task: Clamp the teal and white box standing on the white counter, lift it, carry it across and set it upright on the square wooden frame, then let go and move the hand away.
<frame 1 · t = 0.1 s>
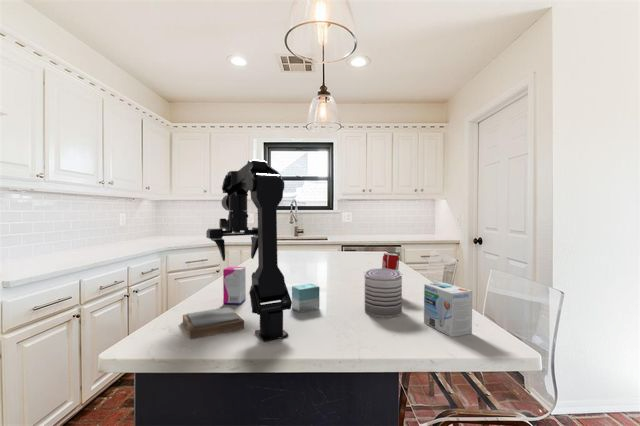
hand: (238, 259, 103), 15 cm above the counter, fingers open, 9 cm apart
supplement box: (234, 302, 106), on the counter
square wooden frame: (212, 325, 85), on the counter
beverage can: (389, 296, 114), on the counter
light bulb box: (447, 329, 83), on the counter
can: (382, 311, 97), on the counter
teal and white box: (305, 308, 99), on the counter
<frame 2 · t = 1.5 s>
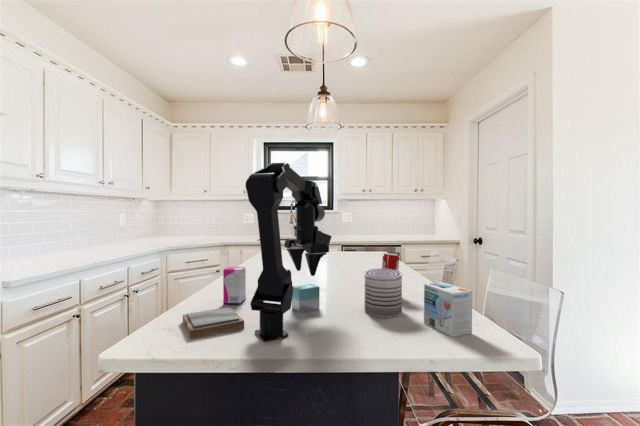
hand: (305, 273, 99), 11 cm above the counter, fingers open, 9 cm apart
nothing on the counter moved.
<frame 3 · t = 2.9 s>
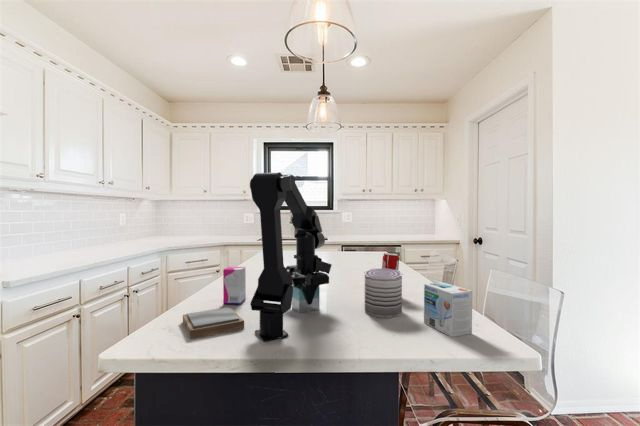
hand: (305, 302, 99), 2 cm above the counter, fingers closed on teal and white box, 5 cm apart
teal and white box: (305, 308, 99), on the counter, touching gripper
everything else where it was.
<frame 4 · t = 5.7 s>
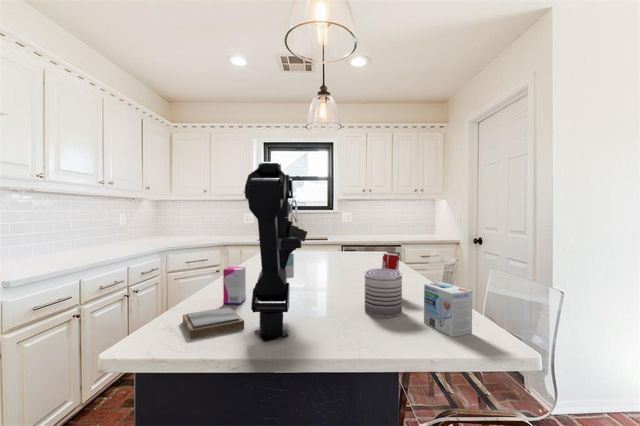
hand: (279, 270, 94), 13 cm above the counter, fingers closed on teal and white box, 5 cm apart
teal and white box: (279, 277, 94), point 11 cm above the counter, touching gripper
everything else where it was.
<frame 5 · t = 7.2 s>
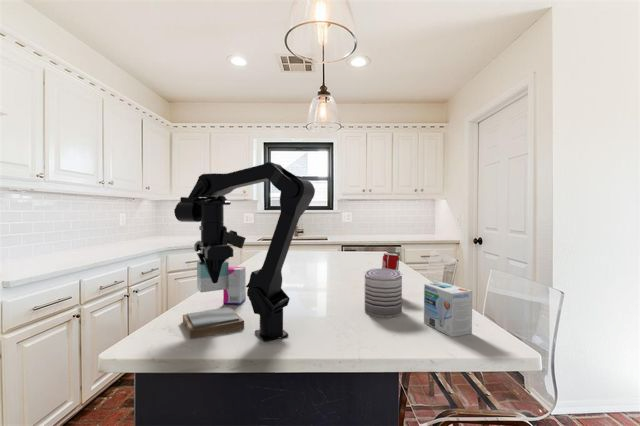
hand: (212, 281, 85), 12 cm above the counter, fingers closed on teal and white box, 5 cm apart
teal and white box: (212, 288, 85), point 10 cm above the counter, touching gripper
everything else where it was.
when the fingers open (6 cm above the counter, at t = 8.5 s): teal and white box drops 1 cm, resting on square wooden frame.
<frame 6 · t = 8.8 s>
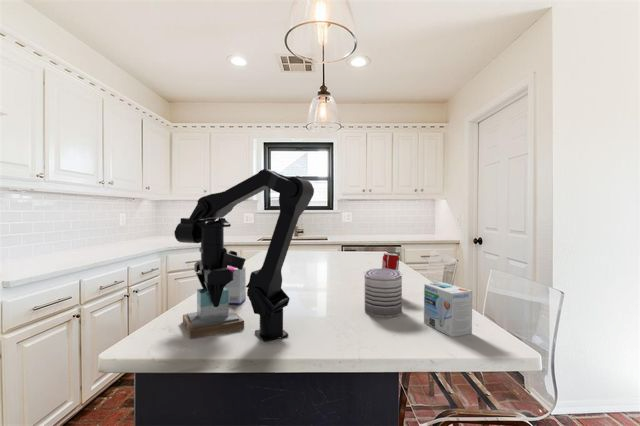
hand: (212, 302, 85), 6 cm above the counter, fingers open, 8 cm apart
teal and white box: (212, 315, 85), point 2 cm above the counter, touching square wooden frame
everything else where it was.
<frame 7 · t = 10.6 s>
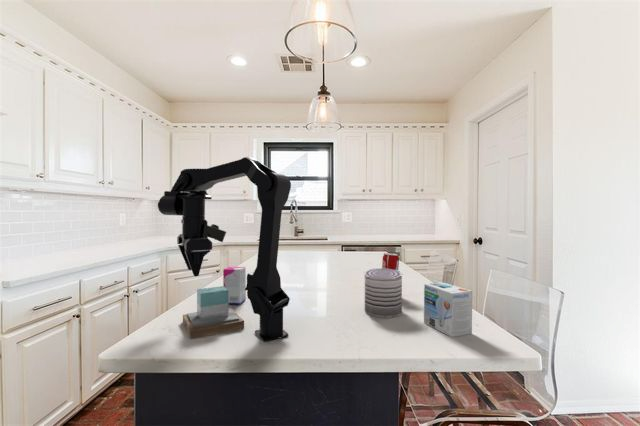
hand: (193, 272, 88), 13 cm above the counter, fingers open, 9 cm apart
nothing on the counter moved.
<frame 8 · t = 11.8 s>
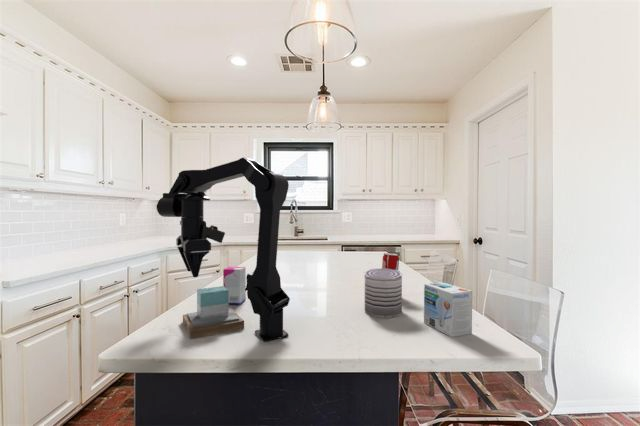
hand: (192, 274, 88), 13 cm above the counter, fingers open, 9 cm apart
nothing on the counter moved.
at the end: teal and white box inside the target area on the square wooden frame (0.0 cm from its centre), point 2.5 cm above the square wooden frame's base; teal and white box tilted 0°; the gripper is holding nothing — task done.
